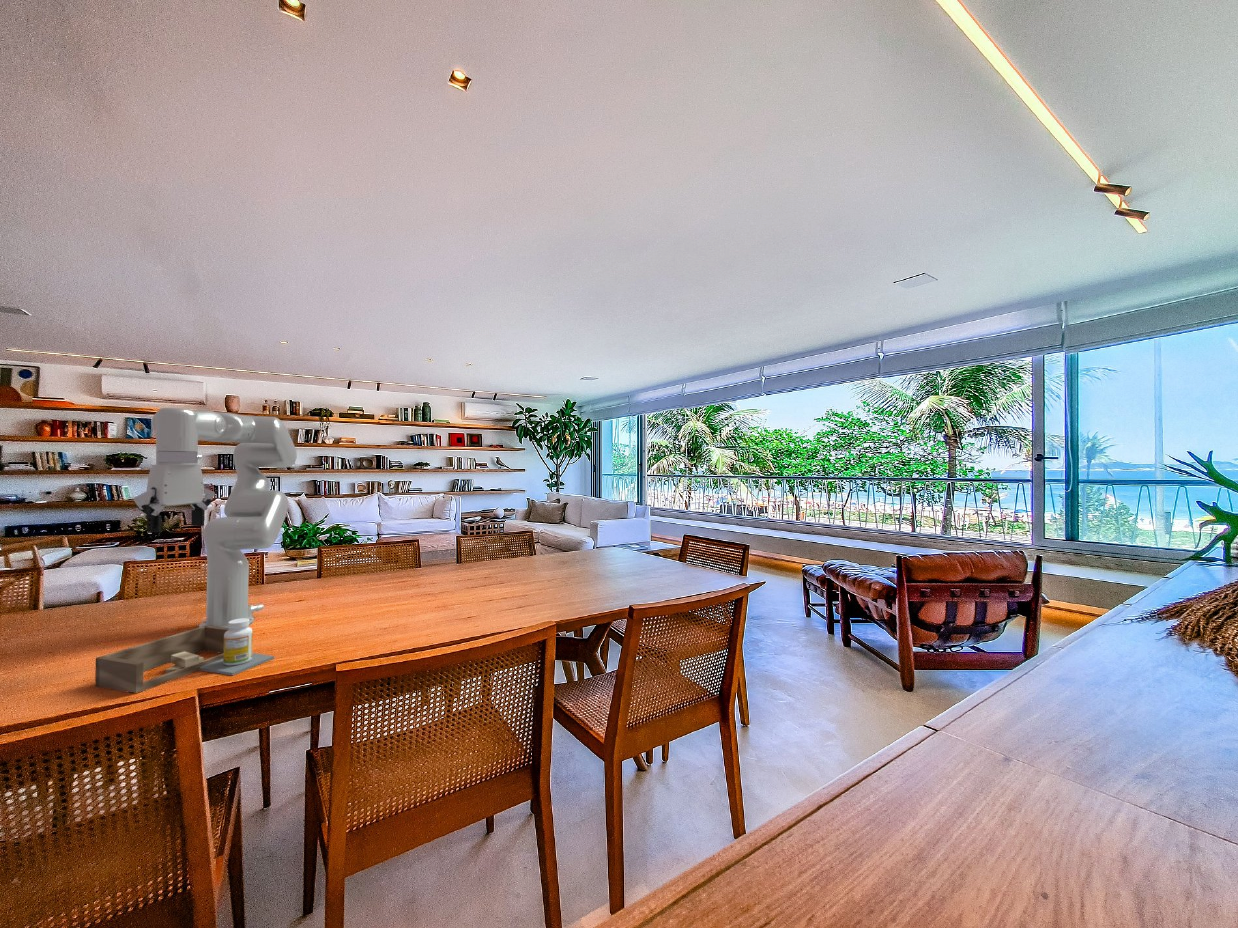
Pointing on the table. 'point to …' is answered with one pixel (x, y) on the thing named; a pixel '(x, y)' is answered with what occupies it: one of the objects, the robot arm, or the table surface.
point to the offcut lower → (178, 666)
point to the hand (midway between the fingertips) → (177, 528)
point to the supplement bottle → (238, 642)
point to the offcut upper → (185, 659)
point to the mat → (235, 669)
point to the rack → (157, 659)
